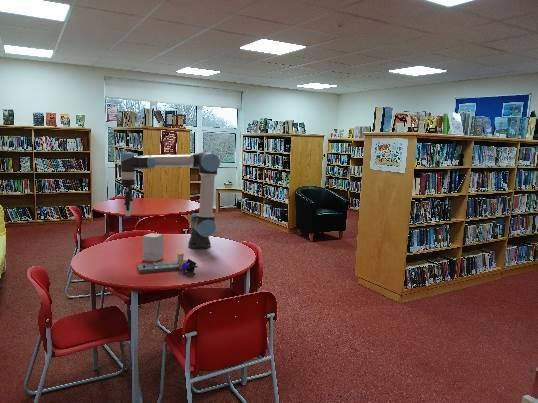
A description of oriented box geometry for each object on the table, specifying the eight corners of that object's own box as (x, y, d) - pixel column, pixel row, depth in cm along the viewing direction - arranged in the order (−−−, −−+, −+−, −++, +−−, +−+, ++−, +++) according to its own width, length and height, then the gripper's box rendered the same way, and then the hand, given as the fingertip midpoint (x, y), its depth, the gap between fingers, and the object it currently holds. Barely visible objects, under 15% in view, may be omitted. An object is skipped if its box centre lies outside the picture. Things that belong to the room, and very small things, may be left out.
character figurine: (187, 278, 217) (176, 271, 229) (200, 275, 221) (188, 268, 233) (186, 264, 215) (175, 258, 227) (199, 261, 219) (187, 255, 232)
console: (187, 263, 243) (187, 258, 242) (191, 269, 232) (191, 264, 231) (137, 267, 233) (137, 262, 232) (139, 273, 222) (139, 268, 221)
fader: (182, 262, 237) (182, 252, 236) (183, 263, 235) (183, 254, 234) (177, 262, 236) (177, 253, 235) (177, 264, 233) (177, 254, 233)
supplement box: (164, 258, 252) (163, 234, 250) (155, 261, 244) (155, 237, 241) (151, 256, 255) (151, 232, 253) (142, 260, 246) (142, 235, 244)
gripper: (123, 176, 255) (124, 210, 258) (119, 180, 231) (120, 217, 234) (136, 176, 257) (137, 210, 260) (133, 180, 233) (134, 217, 236)
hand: (129, 214), depth 247 cm, fingers open, 13 cm apart
